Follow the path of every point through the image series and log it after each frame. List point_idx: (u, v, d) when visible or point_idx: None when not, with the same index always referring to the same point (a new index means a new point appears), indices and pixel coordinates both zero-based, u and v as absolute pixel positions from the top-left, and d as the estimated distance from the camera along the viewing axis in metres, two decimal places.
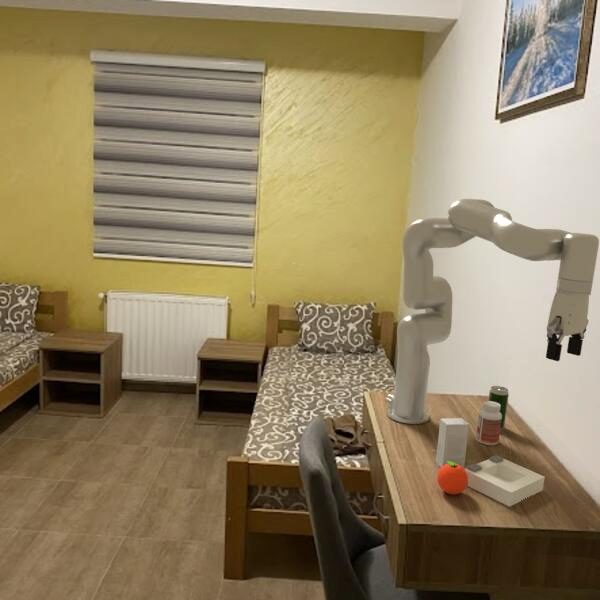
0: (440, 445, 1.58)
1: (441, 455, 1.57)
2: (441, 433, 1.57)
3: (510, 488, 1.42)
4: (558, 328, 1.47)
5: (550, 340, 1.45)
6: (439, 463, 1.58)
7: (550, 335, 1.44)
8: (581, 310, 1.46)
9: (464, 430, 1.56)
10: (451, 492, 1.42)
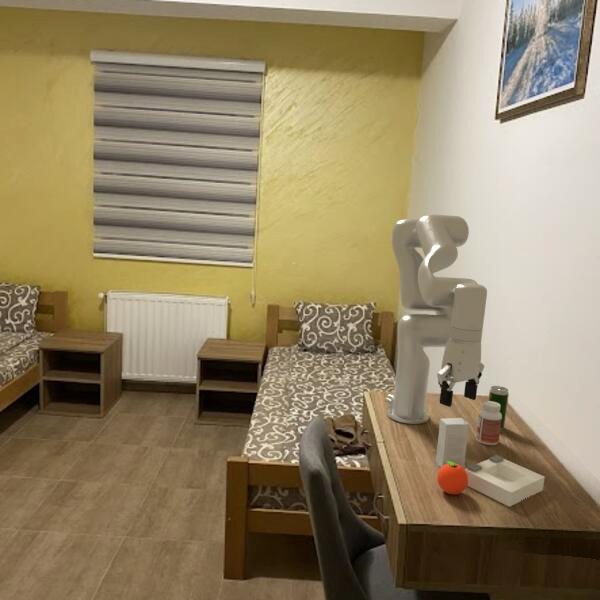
0: (440, 445, 1.58)
1: (441, 455, 1.57)
2: (441, 433, 1.57)
3: (510, 488, 1.42)
4: (450, 374, 1.52)
5: (442, 386, 1.51)
6: (439, 463, 1.58)
7: (441, 382, 1.49)
8: (472, 357, 1.52)
9: (464, 430, 1.56)
10: (451, 492, 1.42)
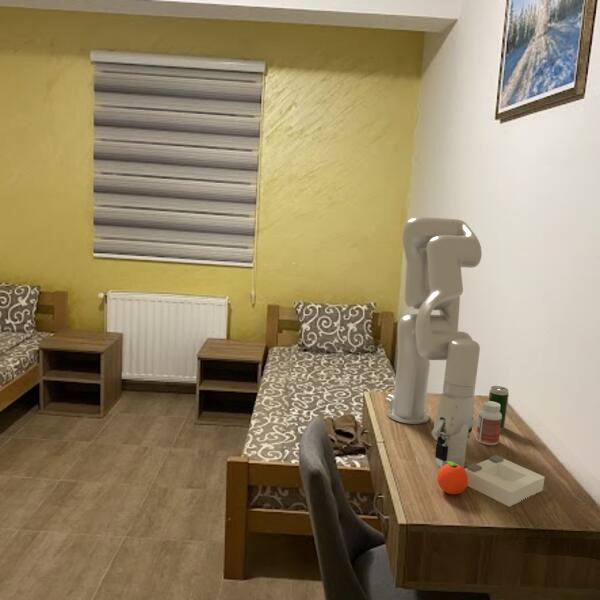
0: None
1: None
2: None
3: (510, 488, 1.42)
4: (445, 428, 1.56)
5: (437, 442, 1.54)
6: (439, 463, 1.58)
7: (436, 439, 1.53)
8: (465, 411, 1.54)
9: (464, 430, 1.56)
10: (451, 492, 1.42)
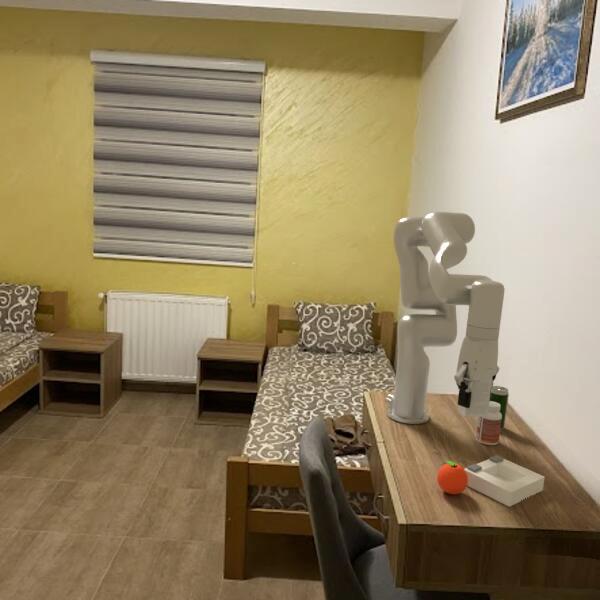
0: None
1: None
2: None
3: (510, 488, 1.42)
4: None
5: (460, 388, 1.49)
6: (462, 411, 1.52)
7: (459, 384, 1.47)
8: (489, 356, 1.48)
9: (488, 376, 1.50)
10: (451, 492, 1.42)
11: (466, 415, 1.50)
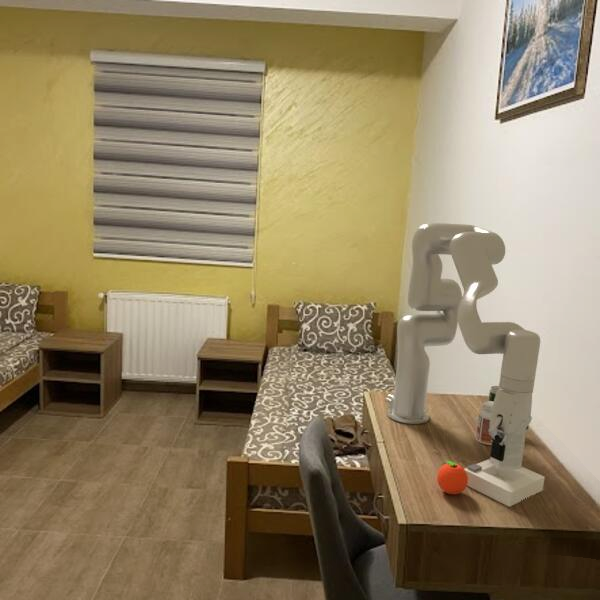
0: None
1: None
2: None
3: (510, 488, 1.42)
4: (501, 426, 1.45)
5: (494, 440, 1.44)
6: (494, 463, 1.48)
7: (493, 437, 1.43)
8: (523, 408, 1.44)
9: (522, 428, 1.45)
10: (451, 492, 1.42)
11: (499, 468, 1.46)
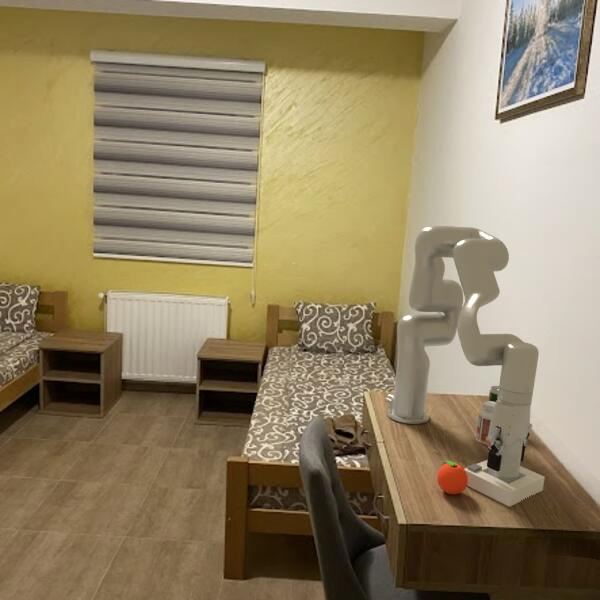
0: None
1: (493, 473, 1.48)
2: None
3: (510, 488, 1.42)
4: (499, 437, 1.46)
5: (490, 451, 1.44)
6: None
7: (489, 447, 1.43)
8: (522, 420, 1.45)
9: (518, 447, 1.46)
10: (451, 492, 1.42)
11: None
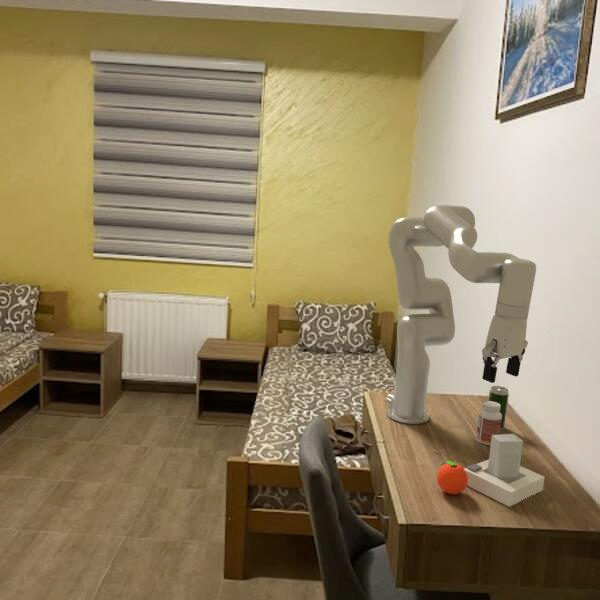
0: (492, 463, 1.48)
1: (493, 473, 1.48)
2: (493, 450, 1.48)
3: (510, 488, 1.42)
4: (495, 351, 1.51)
5: (486, 362, 1.49)
6: None
7: (485, 358, 1.48)
8: (517, 334, 1.50)
9: (518, 447, 1.46)
10: (451, 492, 1.42)
11: None
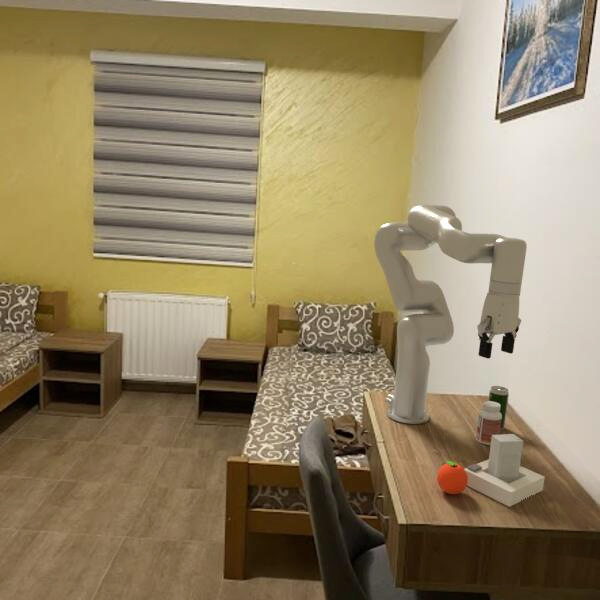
0: (492, 463, 1.48)
1: (493, 473, 1.48)
2: (493, 450, 1.48)
3: (510, 488, 1.42)
4: (490, 327, 1.56)
5: (481, 339, 1.54)
6: None
7: (481, 334, 1.53)
8: (511, 310, 1.55)
9: (518, 447, 1.46)
10: (451, 492, 1.42)
11: None
